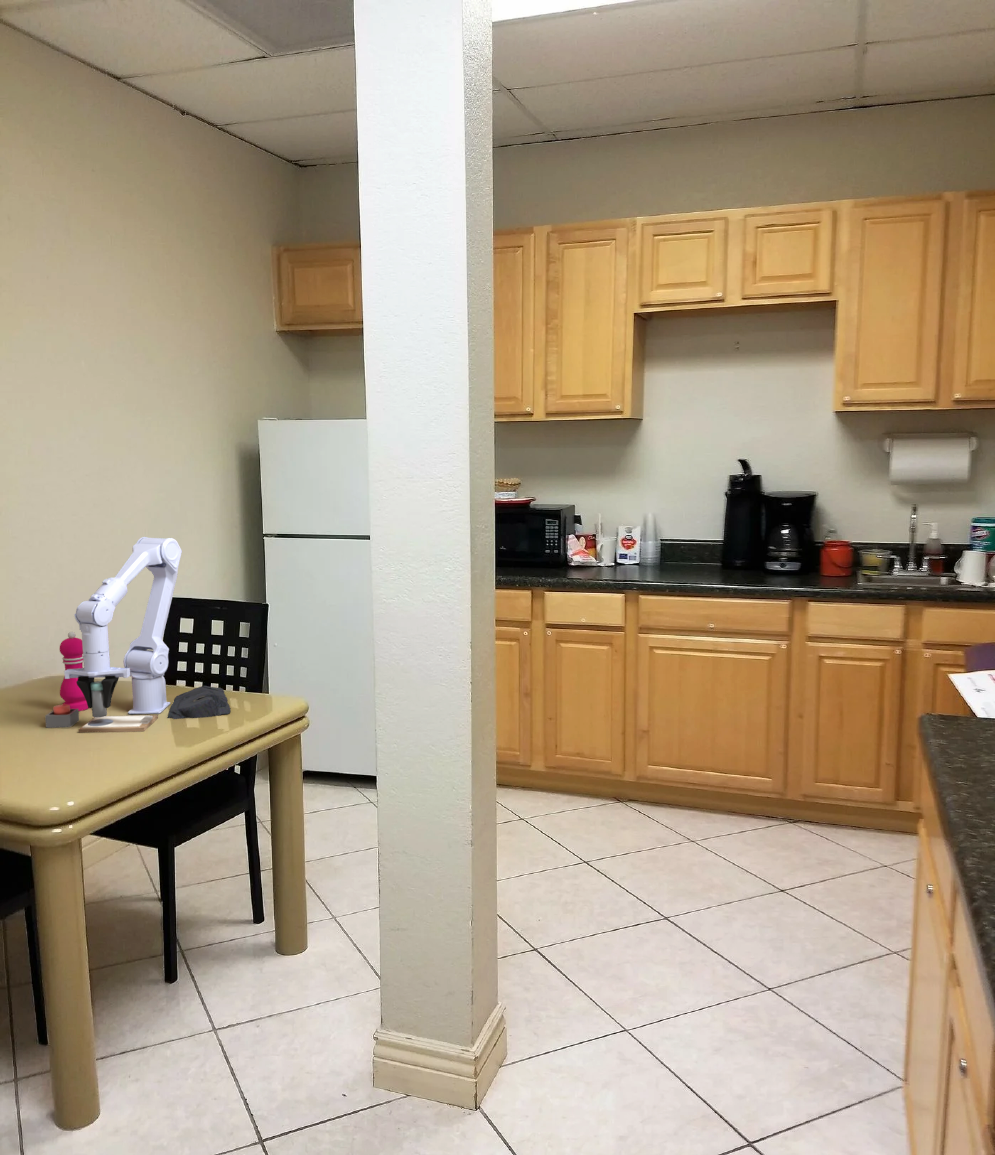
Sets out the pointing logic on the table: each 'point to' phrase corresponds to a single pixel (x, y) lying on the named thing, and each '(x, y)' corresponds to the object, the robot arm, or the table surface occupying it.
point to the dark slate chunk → (200, 703)
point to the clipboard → (118, 723)
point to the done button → (61, 709)
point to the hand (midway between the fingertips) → (99, 707)
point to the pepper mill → (72, 660)
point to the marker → (98, 700)
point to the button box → (62, 719)
